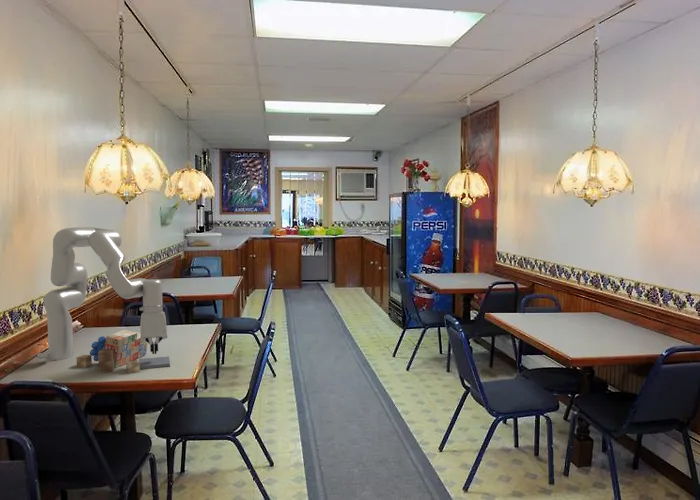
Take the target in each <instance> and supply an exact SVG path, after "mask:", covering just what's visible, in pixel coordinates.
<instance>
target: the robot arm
mask: <svg viewBox="0 0 700 500" xmlns="http://www.w3.org/2000/svg"><path fill="white" fill-rule="evenodd" d="M121 244H122V236H121V234H120V233H119V232H117V231H116V230H113V229H107V228H101V227H100V228H99V227H92V226H91V227H90V226H89V227H88V226H86V227H85V226H83V227H82V226H81V227H78V226H77V227H66V228H62V229H60V230H58V231H57V232H56V233H55V235H54V236H53V240H52V260H51V269H50V281H51V284H52V285H53V286H56V287H62V288H56V289H52V290H50V291H48V292H47V293H46V294H45V295H44V299H43V303H44V309H45V312H46V321H47V340H48V341H47V343H48V346H47V347H48V351H47V352H40V353H37V356H36V357H37V359H38V358H39V359H45V360H44V363H45V364H48V363H50V362H52V361H63V360H68V359H72V358H73V357H74V335H73V334H74V333H73V329H74V327H73V319H72V316H71V314H70V311H69V310H71V309H75V308H79V307H80V306H82V305H83V303H84V302H85V300H86V295H87V294H86V293H87V285H88V271H87V268H86V267H85V266H84V264H82V263H79V262H76V261H75V260H76V254H75V251H74V249H73V248H86V247H87V248H88V247H90V248H91V249H92V251H94V253H95V254H96V255H97V257H98V258H99V259H100V261H101V262H102V263H103V264H104V266H105V267H106V276H107V280H108V282H109V285H110V286H111V288H112V289H113V290H114V292H115V293H116V295H118V296H119V297H121V298H122V299H125V300H128V299H129V300H130V299H135V298H139V297H142V306H141V307H139V311H141V312H142V313H141V316H140V325H139V326H140V327H139V329H140V332H139V333H141V337H140V340H143V341H147V342H148V343H147V344H149V347H150V352H151V354H152V355H154V354H155V355H157V352H159V343H161V341H162V340H166V339H168V334H167V332H168V330H167V327H168V325H167V318H166V313H165V311H164V310H163V309H164V306H163V283H162V281H161V280H160V279H157V278H155V279H154V278H153V279H152V278H151V279H148V278H143V277H142V278H141V277H140V278H139V277H138V278H132V279H128V278H127V277H126V276H125V274H124V272H123V271H122V269H121V265H122V264H123V263H124V262H125V260H126V256H125V254H124V252H123V251H122V250H121V248H120V246H121ZM153 338H155V341H153Z"/></svg>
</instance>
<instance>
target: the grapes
mask: <svg viewBox="0 0 700 500" xmlns="http://www.w3.org/2000/svg"><path fill="white" fill-rule="evenodd" d="M105 343H106V336H103V335H101V336H99V337H98V338H97V341H94V342H92V343H91V350H89V355H91V356H92V358H93V360H94V362H98V352H99V351H100V350H102V349H104V348H105Z"/></svg>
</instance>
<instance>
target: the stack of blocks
mask: <svg viewBox="0 0 700 500" xmlns="http://www.w3.org/2000/svg"><path fill="white" fill-rule="evenodd" d="M140 337H141V333H140V332H137V331H136V332H135V331H131V330H127V329H122V330H119V331H117V332H115V333H112V334H109V335H106V336H105V338H106V343H105V348H104V349H114V369H116V368H117V369H118V368H119V367H121V366H123V365H126V361H132V360H138V359H140V358H142V357H144V356H146V355H147V350H148V349H147V348H148V344H149V343H148V342H147V341H143V340H140Z"/></svg>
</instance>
